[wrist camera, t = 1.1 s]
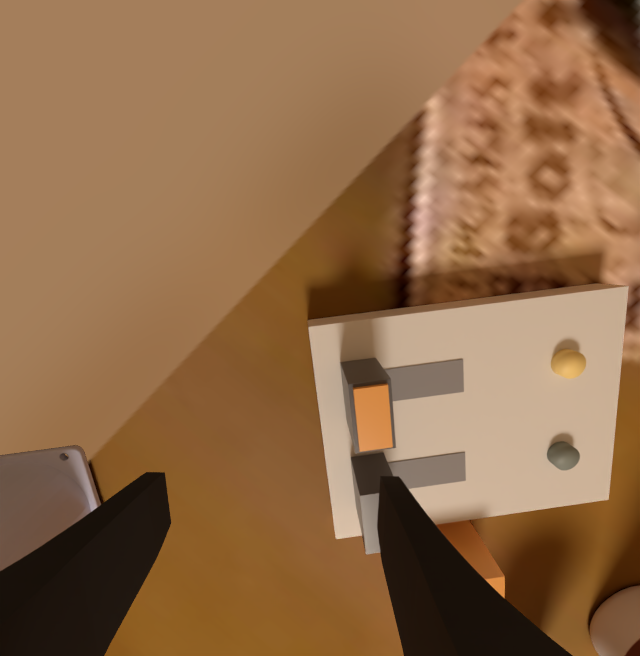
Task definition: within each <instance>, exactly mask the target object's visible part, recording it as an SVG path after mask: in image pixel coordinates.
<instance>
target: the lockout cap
mask: <svg viewBox="0 0 640 656" xmlns="http://www.w3.org/2000/svg"><path fill="white" fill-rule="evenodd" d="M436 526H437V527H438V528H439V530H440V531H441V532H442V533H443V534H444V536H445V537H446V538H447V539H448V540H449V541H450V543H451V544H452V545H453V546H454V547H455V548H456V549H457V551H458V552H459V553H460V554H461V555H462V556H463V557H464V558H465V559H466V560H467V562H468V563H469V564H470V565H471V566H472V567H473V568H474V569H475V570H476V571H477V572H478V573H479V574H480V575H481V576H482V577H483V578H484V579H485V580H486V581H487V582H488V583H489V584H490V585H491V586H492V587H493V588H494V589H495V590H496V591H497V592H498V593H499V594H500V595H501V596H502V597H504V598H505V576H504V574H503V573H502V571H501V570H500V568H499V566H498V565H497V563H496V562H495V560H494V559H493V557H492V555H491V554H490V552H489V551H488V549H487V548H486V546H485V544H484V543H483V541H482V540H481V538H480V536H479V535H478V533H477V532H476V530H475V529H474V527H473V525H472V524H471V522H470V521H469V520H464V521H458V522H451V523H444V524H437V525H436Z"/></svg>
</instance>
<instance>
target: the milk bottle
mask: <svg viewBox="0 0 640 656" xmlns="http://www.w3.org/2000/svg"><path fill="white" fill-rule="evenodd" d="M590 636H591V640H592V643H593V645H594V648H595V649H596V651H597V652H598V654H599V655H600V656H640V585H638V586H632V587H629V588H626V589H623V590H621V591H619V592H617V593H615V594H614V595H612V596H611V597H609V598H608V599H607V600H606V601H605V602H603V603H602V604H601V605H600V607H599V608H598V609H597V610H596V612H595V614H594V616H593V617H592V620H591V624H590Z"/></svg>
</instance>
